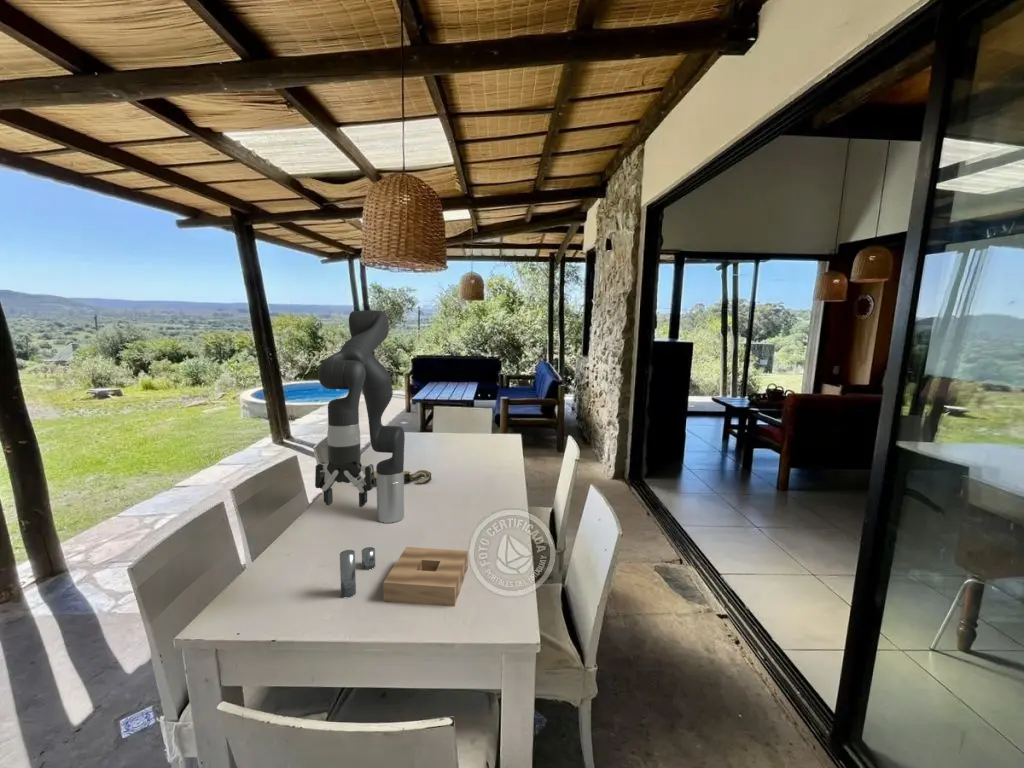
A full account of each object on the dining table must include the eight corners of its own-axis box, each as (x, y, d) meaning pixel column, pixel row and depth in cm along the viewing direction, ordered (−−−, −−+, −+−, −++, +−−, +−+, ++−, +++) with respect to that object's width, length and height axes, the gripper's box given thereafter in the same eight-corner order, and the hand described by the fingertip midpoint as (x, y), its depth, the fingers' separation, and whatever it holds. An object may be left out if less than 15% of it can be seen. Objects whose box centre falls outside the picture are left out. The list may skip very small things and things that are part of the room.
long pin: (344, 589, 117) (343, 549, 115) (358, 590, 117) (357, 550, 115) (338, 597, 113) (337, 556, 112) (352, 598, 113) (351, 557, 112)
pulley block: (429, 473, 189) (357, 473, 187) (429, 486, 189) (356, 487, 187) (433, 467, 203) (365, 467, 201) (433, 480, 203) (365, 480, 201)
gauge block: (406, 563, 130) (406, 547, 129) (467, 567, 129) (468, 550, 128) (383, 601, 112) (383, 582, 112) (454, 606, 111) (454, 587, 110)
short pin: (365, 563, 130) (364, 546, 129) (377, 563, 129) (376, 547, 129) (359, 569, 126) (359, 553, 126) (372, 570, 126) (372, 553, 125)
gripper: (378, 439, 113) (379, 501, 115) (323, 436, 114) (325, 498, 116) (366, 446, 106) (367, 512, 108) (308, 444, 107) (310, 509, 109)
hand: (345, 505), depth 112 cm, fingers open, 8 cm apart
